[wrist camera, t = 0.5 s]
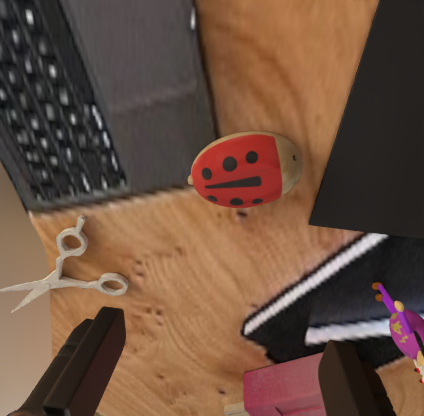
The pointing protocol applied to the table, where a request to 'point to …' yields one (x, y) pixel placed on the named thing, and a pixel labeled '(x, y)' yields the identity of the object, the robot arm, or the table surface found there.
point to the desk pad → (381, 133)
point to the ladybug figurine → (246, 169)
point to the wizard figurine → (405, 329)
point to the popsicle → (282, 390)
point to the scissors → (60, 281)
